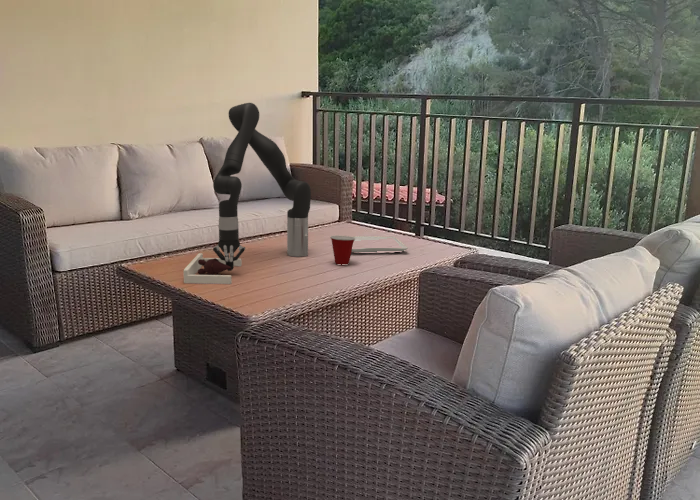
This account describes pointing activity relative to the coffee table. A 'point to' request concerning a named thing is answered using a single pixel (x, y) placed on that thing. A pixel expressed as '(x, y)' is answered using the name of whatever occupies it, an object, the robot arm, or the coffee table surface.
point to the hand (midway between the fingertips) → (229, 270)
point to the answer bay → (206, 279)
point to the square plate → (359, 238)
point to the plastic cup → (342, 248)
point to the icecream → (212, 266)
